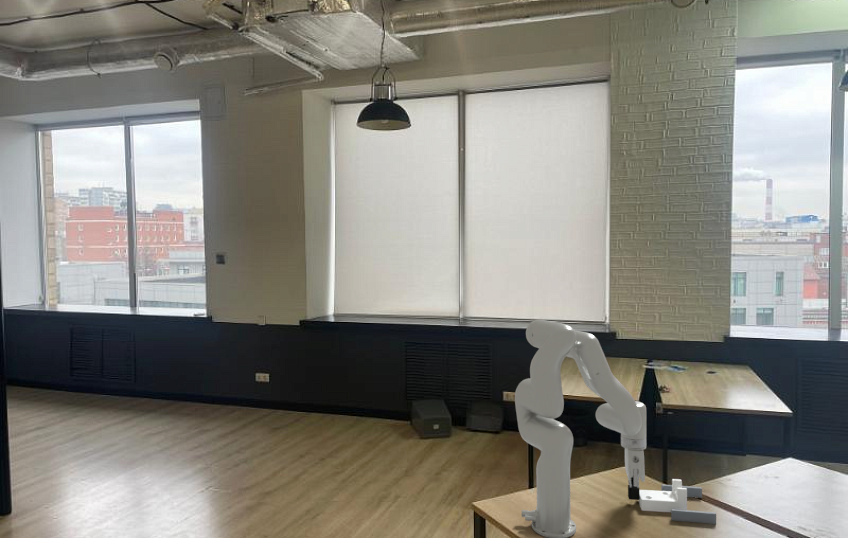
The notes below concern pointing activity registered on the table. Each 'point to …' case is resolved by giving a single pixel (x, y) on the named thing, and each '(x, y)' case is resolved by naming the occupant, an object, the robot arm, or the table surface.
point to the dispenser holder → (689, 514)
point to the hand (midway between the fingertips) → (633, 498)
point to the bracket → (664, 498)
